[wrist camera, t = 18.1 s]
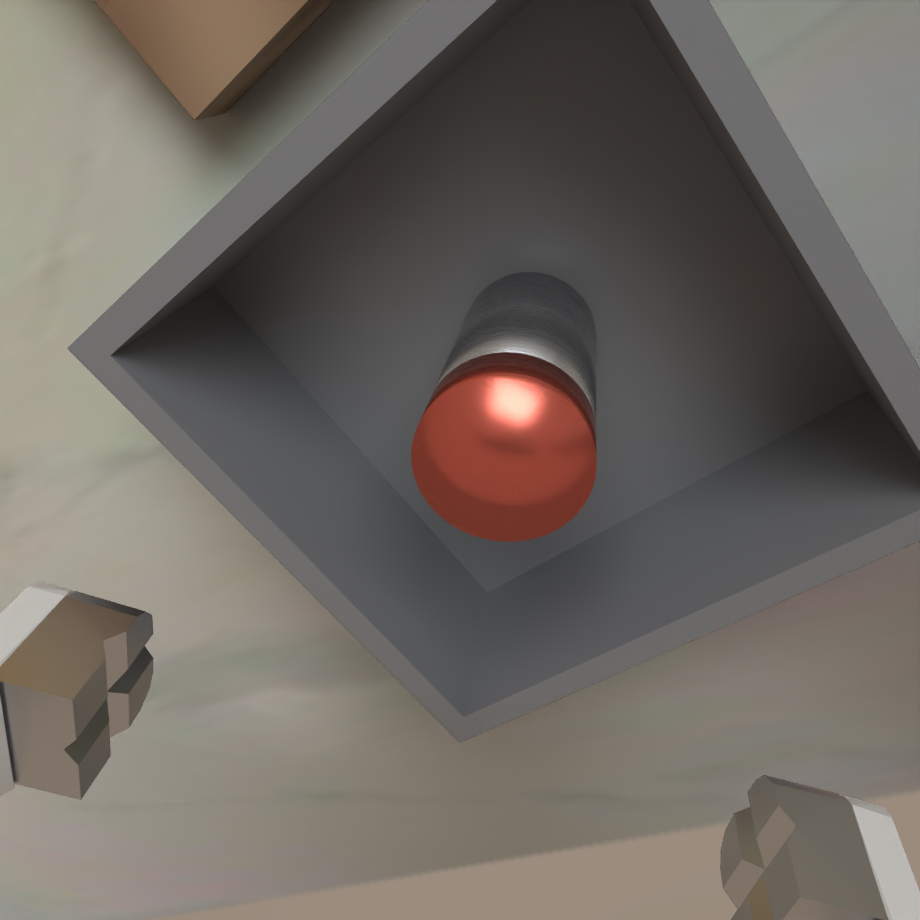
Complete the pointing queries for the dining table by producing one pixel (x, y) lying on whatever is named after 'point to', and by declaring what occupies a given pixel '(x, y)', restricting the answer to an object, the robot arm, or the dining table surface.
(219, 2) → the socket block
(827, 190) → the dining table surface
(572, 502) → the red and grey cylinder
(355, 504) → the bin
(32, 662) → the robot arm
